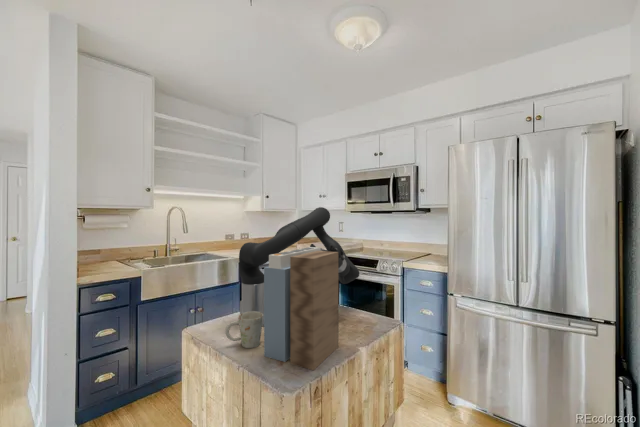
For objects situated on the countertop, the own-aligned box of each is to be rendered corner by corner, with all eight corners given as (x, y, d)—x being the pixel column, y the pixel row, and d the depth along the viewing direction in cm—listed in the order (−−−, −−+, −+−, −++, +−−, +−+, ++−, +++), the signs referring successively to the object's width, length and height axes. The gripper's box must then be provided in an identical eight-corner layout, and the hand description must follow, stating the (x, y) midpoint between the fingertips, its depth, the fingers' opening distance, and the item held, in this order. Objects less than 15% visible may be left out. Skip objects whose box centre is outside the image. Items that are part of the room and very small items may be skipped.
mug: (264, 348, 98) (264, 318, 98) (224, 353, 95) (224, 322, 95) (261, 338, 106) (261, 310, 106) (225, 342, 103) (225, 313, 103)
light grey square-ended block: (268, 267, 92) (268, 254, 92) (310, 257, 115) (310, 246, 115) (280, 269, 90) (280, 255, 90) (320, 258, 113) (320, 246, 113)
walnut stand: (290, 363, 88) (290, 256, 88) (317, 341, 103) (317, 250, 103) (313, 370, 84) (313, 258, 84) (338, 346, 99) (338, 252, 99)
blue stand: (264, 356, 92) (264, 267, 93) (293, 336, 107) (293, 260, 108) (285, 362, 89) (284, 269, 89) (312, 340, 104) (312, 261, 104)
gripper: (323, 252, 134) (307, 237, 122) (352, 254, 128) (338, 238, 115) (319, 268, 131) (302, 254, 119) (348, 271, 124) (334, 256, 112)
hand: (320, 246), depth 117 cm, fingers open, 8 cm apart
